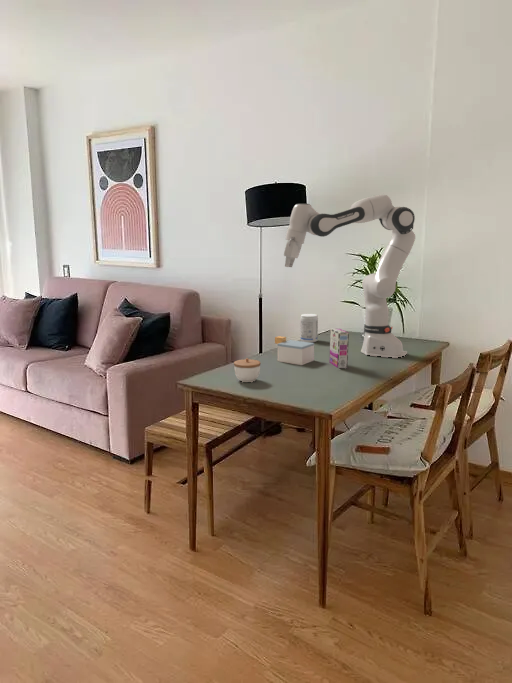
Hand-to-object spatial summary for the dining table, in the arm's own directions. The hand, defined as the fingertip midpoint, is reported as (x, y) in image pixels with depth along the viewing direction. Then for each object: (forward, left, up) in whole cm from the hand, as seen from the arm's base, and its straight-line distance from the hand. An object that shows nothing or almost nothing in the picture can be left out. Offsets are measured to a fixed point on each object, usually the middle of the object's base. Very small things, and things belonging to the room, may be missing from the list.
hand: (288, 267), depth 251 cm
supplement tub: (+10, -38, -43) cm, 59 cm away
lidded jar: (-11, +47, -43) cm, 65 cm away
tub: (-10, +9, -43) cm, 45 cm away
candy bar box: (-30, +4, -43) cm, 53 cm away
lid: (-8, +9, -36) cm, 38 cm away
